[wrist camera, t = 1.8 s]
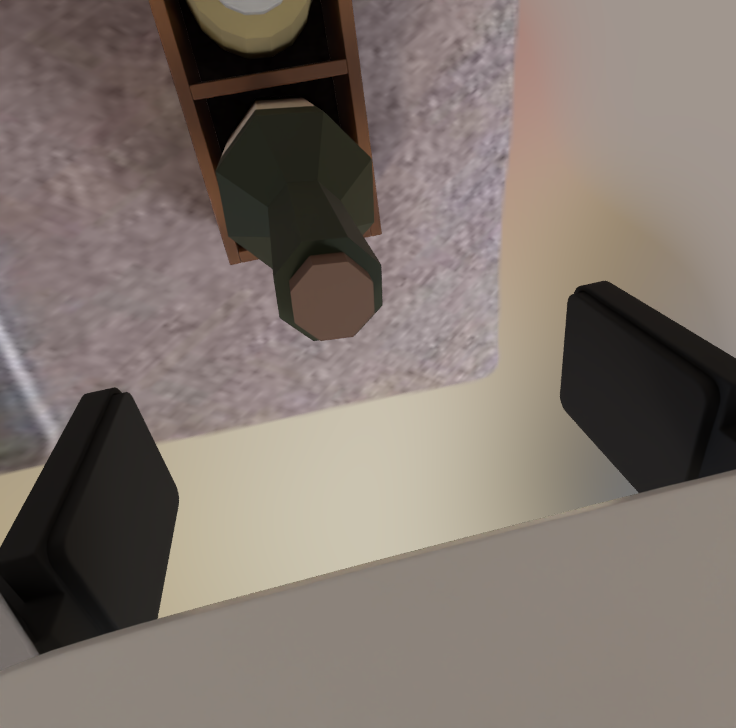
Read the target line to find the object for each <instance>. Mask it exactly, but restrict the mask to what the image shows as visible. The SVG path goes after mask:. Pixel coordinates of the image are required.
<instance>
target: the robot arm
mask: <svg viewBox="0 0 736 728" xmlns="http://www.w3.org/2000/svg"><path fill="white" fill-rule="evenodd" d="M560 400H561V403H562V406H563V408H564V410H565V411H566V412H567V413H568V415H569V416H570V417H571V418H572V419H573V420H574V421H575V422H576V424H578V426H579V427H580V428H581V429H582V430H583V431H584V432H585V433H586V435H587V436H588V437H589V438H590V439H591V440H592V441H593V442H594V444H595V445H596V446H597V447H598V448H599V449H600V450H601V451H602V452H603V454H604V455H605V456H606V457H607V458H608V459H609V460H610V461H611V462H612V464H613V465H614V466H615V467H616V468H617V469H618V470H619V471H620V472H621V473H622V475H623V476H624V477H625V478H626V479H627V480H628V481H629V483H631V485H632V486H633V487H634V488H635V489H636V490H637V491H638V494H634V495H630V496H626V497H622V498H619V499H614V500H610V501H606V502H602V503H598V504H594V505H591V506H587V507H583V508H579V509H575V510H571V511H567V512H563V513H559V514H555V515H551V516H547V517H543V518H539V519H535V520H531V521H527V522H523V523H520V524H516V525H512V526H508V527H504V528H501V529H497V530H493V531H489V532H485V533H481V534H477V535H473V536H469V537H465V538H462V539H458V540H454V541H450V542H446V543H442V544H438V545H434V546H430V547H427V548H423V549H419V550H415V551H411V552H407V553H404V554H400V555H396V556H392V557H388V558H384V559H380V560H376V561H373V562H369V563H365V564H361V565H357V566H354V567H350V568H346V569H342V570H338V571H335V572H331V573H327V574H323V575H320V576H316V577H312V578H308V579H305V580H301V581H297V582H293V583H289V584H285V585H282V586H278V587H274V588H270V589H267V590H263V591H259V592H255V593H251V594H248V595H244V596H240V597H236V598H233V599H229V600H225V601H222V602H218V603H214V604H210V605H206V606H203V607H199V608H195V609H192V610H188V611H185V612H181V613H177V614H174V615H170V616H167V617H163V618H159V619H157V618H158V613H159V608H160V602H161V597H162V591H163V586H164V581H165V576H166V570H167V564H168V559H169V554H170V548H171V543H172V538H173V532H174V527H175V521H176V516H177V511H178V505H179V495H178V491H177V487H176V485H175V483H174V481H173V478H172V477H171V474H170V472H169V470H168V468H167V466H166V464H165V462H164V460H163V458H162V456H161V454H160V452H159V450H158V448H157V446H156V444H155V442H154V440H153V438H152V436H151V434H150V432H149V430H148V427H147V425H146V423H145V421H144V419H143V417H142V415H141V413H140V411H139V409H138V407H137V405H136V403H135V401H134V399H133V397H132V396H131V394H130V393H128V392H125V393H121V391H120V390H119V389H117V388H115V387H114V388H110V389H105V390H101V391H96V392H91V393H87V394H84V395H83V396H82V398H81V400H80V402H79V403H78V405H77V407H76V409H75V411H74V413H73V414H72V416H71V418H70V420H69V422H68V424H67V426H66V427H65V429H64V431H63V433H62V435H61V437H60V438H59V440H58V442H57V444H56V446H55V448H54V449H53V451H52V453H51V455H50V457H49V459H48V460H47V462H46V464H45V466H44V468H43V470H42V472H41V473H40V475H39V477H38V479H37V481H36V483H35V484H34V486H33V488H32V490H31V492H30V494H29V496H28V497H27V499H26V501H25V503H24V505H23V506H22V508H21V510H20V512H19V514H18V516H17V517H16V519H15V521H14V523H13V525H12V527H11V529H10V531H9V532H8V534H7V536H6V538H5V540H4V541H3V543H2V545H1V547H0V728H736V358H734V357H733V356H731V355H729V354H728V353H726V352H724V351H723V350H721V349H719V348H718V347H716V346H714V345H712V344H711V343H709V342H708V341H706V340H704V339H703V338H701V337H699V336H698V335H696V334H694V333H693V332H691V331H689V330H688V329H686V328H685V327H683V326H681V325H679V324H678V323H676V322H675V321H673V320H671V319H670V318H668V317H666V316H665V315H663V314H661V313H660V312H658V311H656V310H655V309H653V308H651V307H649V306H648V305H646V304H645V303H643V302H641V301H640V300H638V299H636V298H635V297H633V296H631V295H630V294H628V293H627V292H625V291H623V290H621V289H620V288H618V287H617V286H615V285H613V284H612V283H610V282H608V281H601V282H596V283H592V284H588V285H583V286H579V287H577V288H576V290H575V292H574V294H572V295H571V296H569V298H568V302H567V314H566V328H565V340H564V352H563V364H562V377H561V389H560Z"/></svg>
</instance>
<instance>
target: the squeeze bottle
mask: <svg viewBox="0 0 736 728" xmlns="http://www.w3.org/2000/svg"><path fill="white" fill-rule="evenodd" d="M185 1H186V4H187V5H188V7H189V9H190V11H191V13H192V14H193V16H194V18H195V20H196V21H197V23H198V25H199V27H200V28H201V30H202V31H203V32H204V33H205V34H206V35H207V36H208V37H210V38H211V39H212V40H213V41H214V42H215V43H216V44H217V45H218V46H220V47H221V48H222V49H223V50H225V51H228V52H230V53H233V54H236V55H238V56H241V57H244V58H246V59H255V58H269V57H273V56H275V55H276V54H278V53H280V52H281V51H283V50H285V49H286V48H288V47H290V46H291V45H293V43H294V42H295V40H296V39H297V37H298V36H299V34H300V33H301V31H302V30H303V28H304V27H305V26H306V24H307V21H308V16H309V12H310V8H311V3H312V0H185Z"/></svg>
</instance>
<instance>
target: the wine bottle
mask: <svg viewBox="0 0 736 728" xmlns="http://www.w3.org/2000/svg"><path fill="white" fill-rule="evenodd" d="M216 176H217V182H218V187H219V192H220V197H221V202H222V207H223V212H224V218H225V223H226V228H227V233H228V237H230V238H231V239H232V240H234V241H235V242H236V243H238V244H239V245H241V246H242V247H243V248H245V249H246V250H247V251H249V252H250V253H252V254H253V255H254V256H256V257H257V258H258V259H260V260H261V261H262V262H264V263H265V264H267V265H268V266H269V267H271V268H272V269H273V278H274V284H275V291H276V297H277V304H278V310H279V317H280V318H281V319H282V320H283V321H285V322H286V323H288V324H289V325H291V326H292V327H294V328H295V329H297V330H298V331H300V332H301V333H303V334H304V335H305V336H307V337H308V338H310V339H311V340H313V341H317V340H320V341H324V340H332V339H340V338H347V337H353V336H355V335H356V334H357V333H358V331H359V330H360V329H361V328H362V327H363V326H364V325H365V324H366V323H367V322H368V321H369V319H370V318H371V317H372V316H373V315H374V314H375V313H376V312H377V311H378V310H379V309H380V307H381V306H382V275H381V264H380V262H379V261H378V259H377V257H376V256H375V254H374V253H373V251H372V250H371V248H370V246H369V245H368V243H367V242H366V240H365V238H364V237H363V235H364V234H365V232H366V231H367V230H368V229H369V228H370V227H371V225H372V224H373V223H374V198H373V172H372V158H371V157H370V156H369V155H368V154H367V153H366V152H365V151H364V150H363V149H362V148H361V147H360V146H359V145H357V144H356V143H355V142H354V141H353V140H352V139H351V138H350V137H349V136H348V135H347V134H346V133H345V132H344V131H343V130H342V129H341V128H340V127H339V126H338V125H337V124H336V123H335V122H334V121H333V120H332V119H331V118H330V117H329V116H328V115H327V114H326V113H325V112H324V111H322V110H321V109H319V108H317V107H316V106H314V105H313V104H311V103H310V102H308V101H307V100H305V99H304V98H302V97H301V96H299V95H291V96H274V97H258V98H255V99H254V101H253V102H252V104H251V105H250V106H249V108H248V109H247V111H246V112H245V113H244V115H243V116H242V118H241V119H240V120H239V122H238V123H237V125H236V126H235V127H234V129H233V130H232V132H231V133H230V136H229V138H228V141H227V143H226V146H225V148H224V151H223V153H222V156H221V158H220V161H219V163H218V166H217V169H216Z"/></svg>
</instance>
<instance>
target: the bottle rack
mask: <svg viewBox="0 0 736 728" xmlns="http://www.w3.org/2000/svg"><path fill="white" fill-rule="evenodd" d="M320 1H321V7H322V13H323V20H324V26H325V32H326V39H327V45H328V52H329V58H330V60H328V61H322V62H316V63H310V64H304V65H298V66H292V67H287V68H281V69H275V70H269V71H263V72H257V73H251V74H245V75H239V76H234V77H228V78H222V79H216V80H210V81H204V82H201V78H200V75H199V71H198V68H197V64H196V60H195V57H194V53H193V50H192V46H191V43H190V39H189V36H188V32H187V29H186V25H185V21H184V18H183V14H182V11H181V7H180V4H179V0H149V4H150V7H151V10H152V13H153V17H154V20H155V23H156V26H157V29H158V33H159V36H160V39H161V42H162V46H163V49H164V52H165V55H166V59H167V62H168V65H169V68H170V72H171V75H172V78H173V81H174V85H175V88H176V91H177V94H178V98H179V101H180V104H181V107H182V111H183V114H184V117H185V120H186V124H187V127H188V130H189V133H190V137H191V140H192V143H193V146H194V150H195V153H196V156H197V159H198V163H199V166H200V169H201V172H202V175H203V179H204V182H205V185H206V188H207V192H208V195H209V198H210V201H211V205H212V208H213V211H214V214H215V218H216V221H217V224H218V227H219V231H220V234H221V237H222V240H223V244H224V247H225V250H226V253H227V257H228V260H229V263H230V265H233V264H238V263H241V262H247V261H252V260H257V259H258V258H257V257H256V256H254V255H253V254H252V253H250V252H249V251H247V250H246V249H245V248H243V247H242V246H241V245H239V244H238V243H236V242H235V241H234V240H232V239H231V238H230V237H228V233H227V228H226V223H225V218H224V212H223V207H222V202H221V197H220V192H219V187H218V182H217V176H216V169H217V166H218V163H219V161H220V158H221V156H222V153H221V149H220V146H219V142H218V139H217V135H216V131H215V128H214V124H213V121H212V117H211V114H210V110H209V107H208V103H207V100H206V98H211V97H217V96H223V95H228V94H234V93H240V92H246V91H252V90H257V89H263V88H269V87H275V86H281V85H286V84H292V83H298V82H304V81H309V80H315V79H321V78H327V77H333V84H334V90H335V96H336V103H337V109H338V115H339V122H340V128H341V129H342V130H343V131H344V132H345V133H346V134H347V135H348V136H349V137H350V138H351V139H352V140H353V141H354V142H355V143H356V144H357V145H359V146H360V147H361V148H362V149H363V150H364V151H365V152H366V153H367V154H368V155H369V156H370V157H371V158H372V154H371V146H370V138H369V131H368V123H367V115H366V107H365V100H364V92H363V84H362V76H361V69H360V61H359V53H358V45H357V38H356V30H355V22H354V15H353V7H352V0H320ZM372 172H373V198H374V223H373V224H372V225H371V227H370V228H369V229H368V230H367V231H366V232H365V234H364V235H363V237H364V238H365V237H370V236H376V235H380V234H382V231H381V224H380V216H379V208H378V200H377V193H376V185H375V177H374V169H373V162H372Z"/></svg>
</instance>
